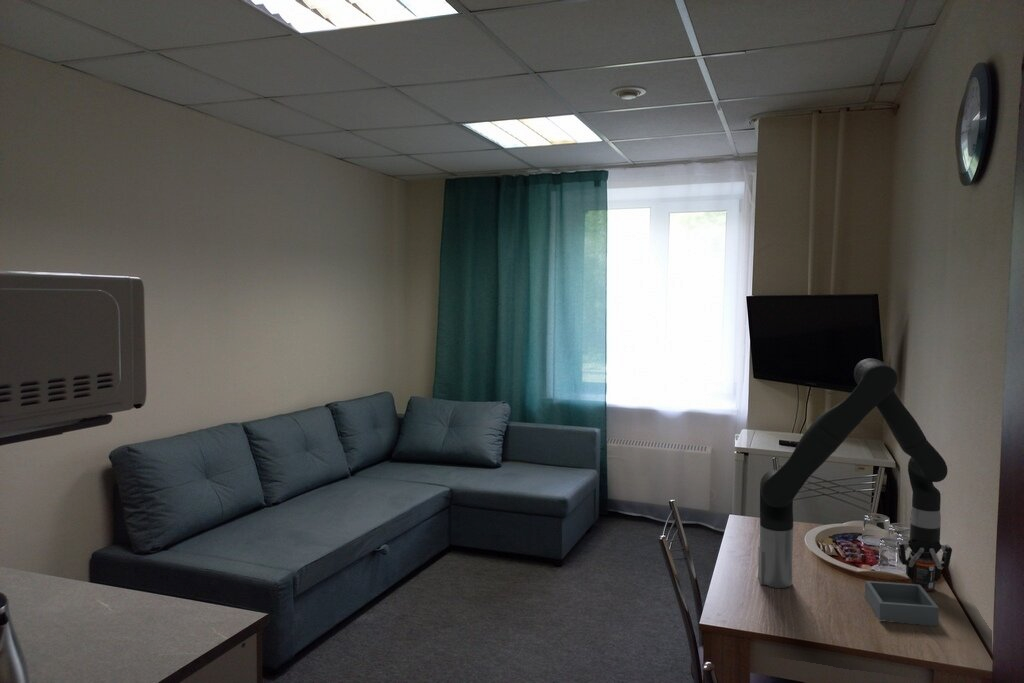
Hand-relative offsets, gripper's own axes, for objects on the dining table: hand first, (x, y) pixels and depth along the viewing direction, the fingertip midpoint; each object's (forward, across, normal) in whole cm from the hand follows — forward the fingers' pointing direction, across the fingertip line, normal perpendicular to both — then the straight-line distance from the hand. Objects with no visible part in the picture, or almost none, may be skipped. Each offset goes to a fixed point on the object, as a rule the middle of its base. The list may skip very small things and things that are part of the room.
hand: (923, 578), depth 205 cm
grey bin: (+3, -11, -16) cm, 20 cm away
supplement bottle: (+3, 0, 0) cm, 3 cm away
